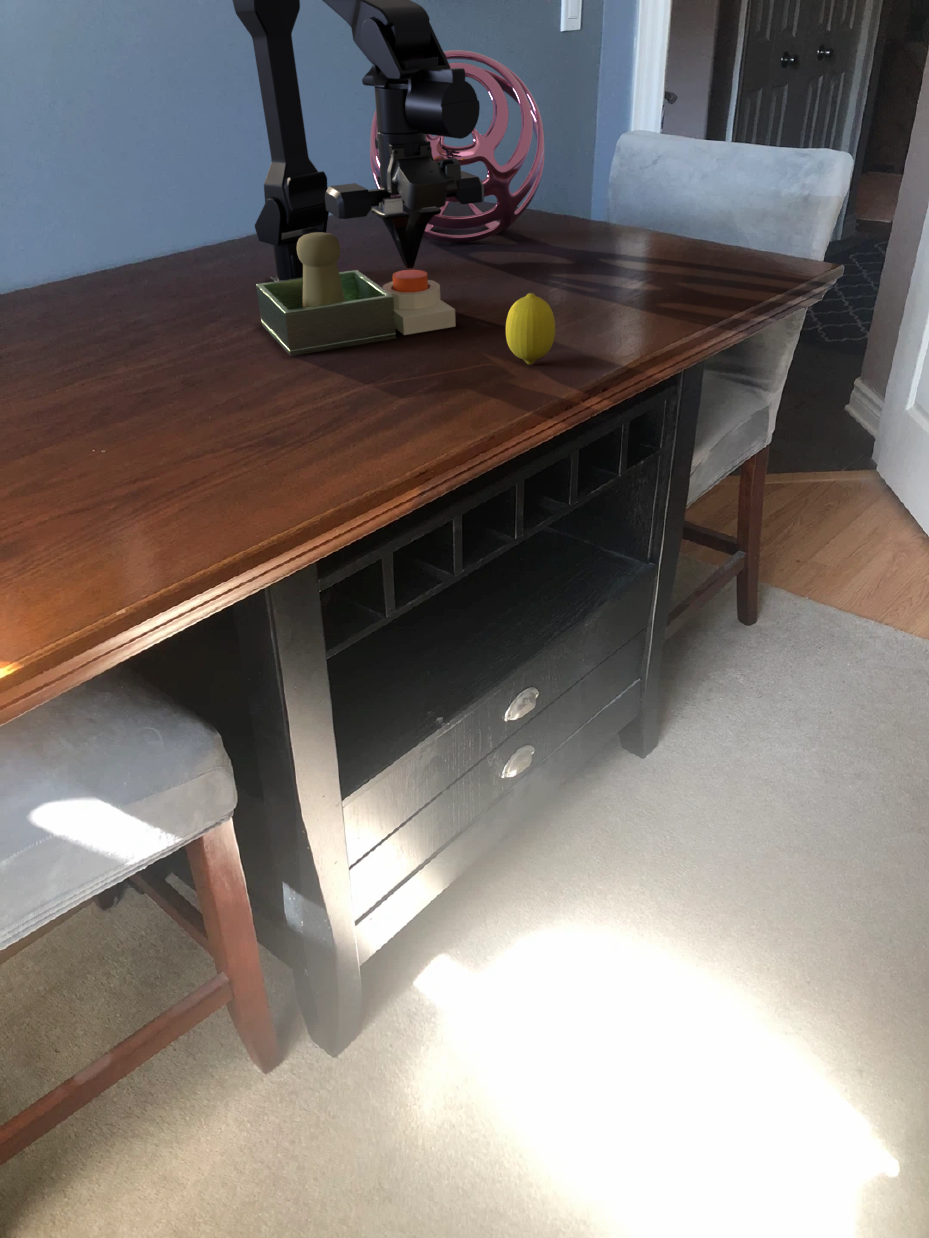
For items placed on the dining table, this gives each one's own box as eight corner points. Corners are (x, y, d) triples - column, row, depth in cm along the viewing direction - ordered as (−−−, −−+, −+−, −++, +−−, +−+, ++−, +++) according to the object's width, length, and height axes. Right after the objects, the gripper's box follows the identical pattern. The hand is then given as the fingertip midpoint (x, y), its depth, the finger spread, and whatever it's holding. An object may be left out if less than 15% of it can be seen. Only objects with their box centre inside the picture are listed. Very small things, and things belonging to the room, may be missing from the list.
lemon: (521, 376, 109) (521, 303, 105) (497, 361, 114) (496, 291, 109) (563, 367, 112) (565, 295, 107) (538, 353, 116) (539, 283, 111)
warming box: (261, 325, 127) (255, 284, 124) (360, 309, 131) (356, 269, 129) (290, 356, 117) (284, 312, 114) (396, 338, 121) (393, 296, 118)
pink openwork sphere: (399, 88, 171) (388, -11, 144) (555, 130, 171) (574, 39, 144) (358, 245, 171) (340, 175, 144) (514, 287, 171) (526, 225, 144)
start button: (388, 288, 127) (387, 272, 126) (420, 283, 128) (419, 268, 127) (401, 296, 123) (400, 281, 122) (433, 291, 125) (432, 276, 124)
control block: (370, 310, 131) (367, 279, 129) (421, 302, 134) (419, 271, 131) (402, 335, 122) (400, 303, 120) (456, 326, 125) (455, 294, 122)
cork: (293, 324, 125) (282, 233, 118) (335, 315, 127) (326, 225, 121) (316, 336, 120) (306, 243, 114) (359, 326, 123) (351, 234, 117)
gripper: (347, 148, 106) (360, 294, 115) (503, 132, 112) (504, 273, 121) (317, 134, 115) (330, 272, 124) (463, 120, 121) (466, 252, 130)
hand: (409, 267), depth 124 cm, fingers closed
